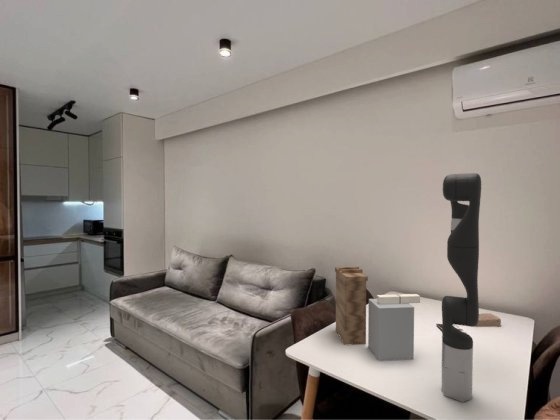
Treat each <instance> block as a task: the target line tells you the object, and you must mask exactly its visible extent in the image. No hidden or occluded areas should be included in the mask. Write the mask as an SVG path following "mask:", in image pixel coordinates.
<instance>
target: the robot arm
mask: <svg viewBox="0 0 560 420" xmlns="http://www.w3.org/2000/svg"><path fill="white" fill-rule="evenodd" d="M481 179H482V178H481V176H480V174H479V173H475V172H473V173H472V172H471V173H469V172H467V173H452V174H451V173H450V174H448V175H446V176H444V179H443V181H442V196H443V197H444V199H445V200H446V201H450V207H451V220H450V234H449V236H448V238H447V241H446V242H447V244H446V245H447V246H446V247H447V249H446V250H447V251H446V253H447V254H446V256H447V257H446V258H447V260H448V263H449V265H450V266H451V268H452V270H453V271H454V272H455V274H456V275H457V276H458V278H459V280H460V281H461V283H462V285H463V287H464V289H465V292H466V297H463V296H462V297H461V296H452V295H445V296H443V298H442V300H441V320H442V321H441V322H442V330H441V331H442V332H441V333H442V335H441V338H442V339H441V391H442V392H443V393H442V394H443V396H445V397H448V398H451V399H453V400H456V401H458V402H461V403H465V402H466V401H470V400H472V399H473V371H474V370H473V364H474V363H473V360H474V340H473V337H472V336H471V335H470V334H468V333H466V332H464V331H463V330H460V329H458V328H457V327H455V326H454V325H457V326H464V327H465V326H466V327H470V326H471V328H472V327H474V326H476V325H477V324H478V320H479V314H480V307H479V290H478V289H479V288H478V287H479V286H478V284H479V283H478V279H479V278H478V277H479V274H478V273H479V258H480V236H479V235H480V228H479V227H480V225H479V223H480V221H479V220H480V207H481V196H482V180H481ZM460 202H469V204H465V203H460ZM474 328H475V327H474Z"/></svg>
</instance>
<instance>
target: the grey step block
mask: <svg viewBox="0 0 560 420" xmlns="http://www.w3.org/2000/svg"><path fill="white" fill-rule="evenodd" d="M367 319H368V323H367V324H368V331H367V332H368V334H367V336H368V337H367V338H368V342H367V343H368V346H367V347H368V348H369V350H370V351H371V353H372V354H373V355H374V357H375V358H376V359H377V360H378V362H380V361H381V362H382V361H399V360H400V361H401V360H402V361H403V360H414V359H415V357H414V355H415V353H414V352H415V347H414V346H415V307H414V305H412V304H411V303H403V304H379V303H378V302H377V298H368V318H367Z"/></svg>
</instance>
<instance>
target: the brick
mask: <svg viewBox="0 0 560 420" xmlns="http://www.w3.org/2000/svg"><path fill="white" fill-rule="evenodd" d="M501 324H502V319H501V318H500V317H499V316H497V315H495V314H493V313H488V312H487V313H485V312H483V313H479V320H478V324H477V325H476V326H474V328H475V327H479V328H480V327H490V328H491V327H492V328H493V327H494V328H495V327H500V326H501ZM469 327H471V326H469ZM471 328H472V327H471Z"/></svg>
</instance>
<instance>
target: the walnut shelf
mask: <svg viewBox="0 0 560 420" xmlns="http://www.w3.org/2000/svg"><path fill="white" fill-rule="evenodd" d="M334 272H335V331H336V330H337V331H336V333H337V332H338V333H337V334H339V335H340V336H339V335H338V336H339V338H340V337H341V338H340V339H341V341H342V340H343V341H342V343H343V342H344V343H343V345H345V344H352V345H366V344H367V281H369V276H368V275H367V274H365V273H364V272H363V269H362V268H360V266H336V267H334Z"/></svg>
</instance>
